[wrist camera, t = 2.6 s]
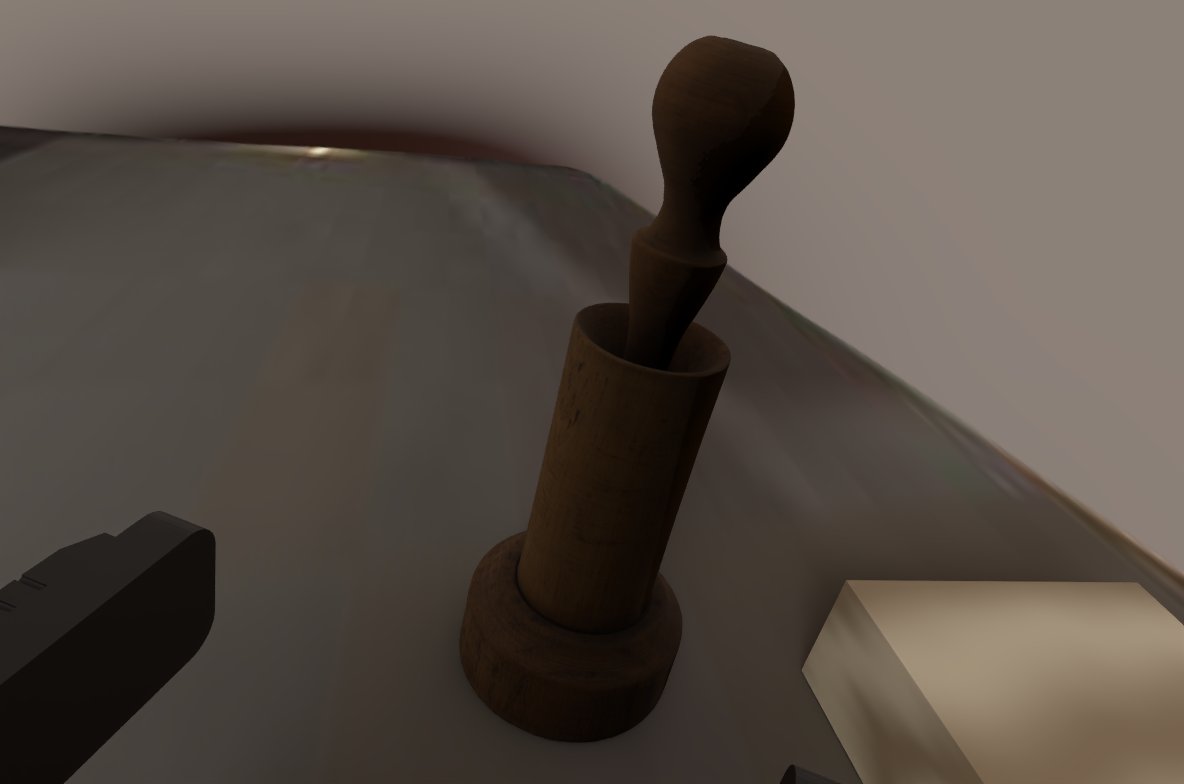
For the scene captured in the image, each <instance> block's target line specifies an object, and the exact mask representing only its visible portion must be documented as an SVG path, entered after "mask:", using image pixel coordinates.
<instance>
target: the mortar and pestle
mask: <svg viewBox="0 0 1184 784" xmlns="http://www.w3.org/2000/svg"><path fill="white" fill-rule="evenodd" d="M794 99H795V98H794V90H793V85H792V81H791V78H790V75H789V73H788V71H787V69H786V67H785V66H784V64H783V63H782V62H781V61H780V59H779V58H778V57H777V56H776V55H775V54H774V53H773V52H771V51H768V50H766V49H763V48H760V47H756V46H752V45H749V44H746V43H742V42H739V41H736V40H732V39H728V38H721V37H717V36H706V37H703V38H700V39H697V40H695V41H693V42H691V43H689V44H688V45H687V46H685V47H684V48H683V49H682V50H681V51H680V52H679V53H677V55H675V57H674V58H673V59H672V60H671V61H670V63H669V64H668V66H667V67H666V69H665V70H664V72H663V74H662V76H661V78H660V80H659V83H658V85H657V88H656V91H655V95H654V99H653V106H652V119H653V129H654V134H655V139H656V144H657V149H658V154H659V158H660V164H661V168H662V173H663V178H664V201H663V205H662V207H661V210H660V212H659V214H658V216H657V217H656V219H655V220H654V221H653V223H652V224H651V225H650V226H648V227H644V228H641V229H638V230H637V231H635V233H634V234H633V237H632V244H631V252H630V266H629V304H627V303H602V304H595V305H592V306H588V307H586V308H584V309H582V310H581V311H579V312H578V314H577V315H576V317H575V320H574V323H573V327H572V332H571V337H570V341H569V346H568V350H567V355H566V360H565V364H564V369H563V374H562V378H561V383H560V387H559V392H558V397H557V401H556V406H555V410H554V415H553V419H552V424H551V428H550V433H549V437H548V442H547V446H546V451H545V455H544V460H543V464H542V468H541V473H540V477H539V482H538V486H537V490H536V495H535V499H534V503H533V507H532V512H531V516H530V520H529V525H528V529H527V531H525V532H522V533H519V534H516V535H514V536H511V537H509V538H507V539H505V540H503V541H502V542H500V543H499V544H497V545H496V546H495V547H493V548H492V549H491V550H490V551H489V552H488V553H487V554H486V555H485V556H484V558H483V559H482V560H481V562H480V563H479V565H478V567H477V568H476V570H475V572H474V575H473V577H472V581H471V584H470V588H469V593H468V598H467V604H466V610H465V614H464V618H463V622H462V627H461V633H460V655H461V661H462V665H463V668H464V671H465V674H466V676H467V678H468V680H469V682H470V684H471V686H472V687H473V689H474V690H475V691H476V693H477V694H478V695H479V697H480V698H481V699H482V700H483V701H484V702H485V703H486V704H487V705H488V706H489V707H490V708H491V709H492V710H493V711H494V712H495V713H496V714H497V715H499V716H500V717H502V718H503V719H505V720H507V721H508V722H510V723H512V724H513V725H515V726H517V727H519V728H521V729H523V730H525V731H528V732H530V733H532V734H535V735H538V736H541V737H544V738H547V739H552V740H557V741H566V742H592V741H598V740H602V739H606V738H610V737H613V736H616V735H619V734H621V733H623V732H625V731H627V730H629V729H631V728H632V727H634V726H635V725H637V724H638V723H639V722H641V721H642V720H643V719H644V718H645V717H646V716H647V715H648V714H649V713H650V712H651V711H652V709H653V708H654V707H655V705H656V704H657V702H658V700H659V698H660V696H661V694H662V692H663V690H664V687H665V685H666V682H667V679H668V676H669V673H670V670H671V667H672V665H673V662H674V659H675V656H676V654H677V651H678V648H679V644H680V640H681V634H682V617H681V611H680V607H679V604H678V601H677V599H676V597H675V595H674V593H673V591H672V589H671V587H670V586H669V584H668V583H667V582H666V580H665V579H664V577H663V576H662V575H661V574H660V573H659V567H660V564H661V561H662V558H663V555H664V552H665V549H666V546H667V543H668V540H669V536H670V533H671V530H672V527H673V524H674V521H675V518H676V515H677V512H678V509H679V506H680V503H681V500H682V497H683V495H684V492H685V489H686V486H687V483H688V480H689V477H690V474H691V471H692V468H693V465H694V462H695V459H696V456H697V453H698V450H699V448H700V445H701V442H702V439H703V436H704V433H705V431H706V428H707V425H708V422H709V419H710V417H711V414H712V411H713V408H714V406H715V403H716V400H717V397H718V394H719V392H720V389H721V386H722V384H723V381H724V378H725V375H726V372H727V369H728V366H729V363H730V359H731V356H730V351H729V349H728V347H727V346H726V344H725V343H724V342H723V341H722V340H721V339H720V338H719V337H718V336H716V335H715V334H714V333H712V332H711V331H710V330H708V329H706V328H705V327H703V326H701V325H699V324H697V323H695V322H693V319H694V318H695V316H696V315H697V313H698V312H699V310H700V309H701V307H702V306H703V304H704V303H705V301H706V300H707V298H708V296H709V295H710V293H711V292H712V290H713V288H714V287H715V285H716V283H717V281H718V279H719V278H720V276H721V274H722V272H723V270H724V268H725V265H726V263H727V256H726V254H725V252H724V251H723V250H722V249H721V248H720V243H719V233H720V226H721V221H722V217H723V214H724V212H725V210H726V208H727V206H728V205H729V203H730V202H731V201H732V199H733V198H734V197H736V196H737V194H739V193H740V192H741V191H742V190H743V189H744V188H745V187H746V186H747V185H748V184H750V182H752V180H753V179H755V177H756V176H757V175H758V174H759V173H760V172H761V171H762V170H763V169H764V168H765V167H766V166H767V165H768V164H769V163H770V162H771V161H772V160H773V159H774V158H775V157H776V155H777V154H778V153H779V151H780V150H781V149H782V147H783V145H784V144H785V142H786V140H787V138H788V135H789V133H790V129H791V126H792V122H793V118H794V109H795V100H794Z"/></svg>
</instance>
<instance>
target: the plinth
mask: <svg viewBox="0 0 1184 784" xmlns="http://www.w3.org/2000/svg"><path fill="white" fill-rule="evenodd" d="M801 671H802V672H803V674H804V676H805V678H806V680H807V682H808V683H809V685H810V687H811V689H812V691H813V693H814V694H815V696H816V698H817V700H818V702H819V704H820V705H821V707H822V709H823V711H824V713H825V715H826V716H827V718H828V720H829V722H830V724H831V726H832V727H833V729H834V731H835V733H836V735H837V737H838V738H839V740H840V742H841V744H842V746H843V748H844V749H845V751H846V753H847V755H848V757H849V759H850V760H851V762H852V764H853V766H854V768H855V770H856V771H857V773H858V775H859V777H860V779H861V781H862V782H863V784H1184V625H1183V624H1181V623H1180V622H1179V621H1178V620H1177V619H1176V618H1175V617H1174V616H1173V615H1172V614H1171V613H1170V612H1168V611H1167V610H1166V609H1165V608H1164V607H1163V606H1162V605H1161V604H1160V603H1159V602H1158V601H1157V600H1155V599H1154V598H1153V597H1152V596H1151V595H1150V594H1149V593H1148V592H1147V591H1146V590H1145V589H1144V588H1142V587H1141V586H1140V585H1139V584H1138V583H1122V582H1001V581H880V580H846V582H845V584H844V586H843V588H842V590H841V592H840V594H839V596H838V598H837V600H836V602H835V604H834V606H833V608H832V610H831V612H830V614H829V616H828V618H827V620H826V622H825V624H824V626H823V628H822V630H821V632H820V634H819V636H818V638H817V640H816V642H815V644H814V646H813V648H812V650H811V652H810V654H809V656H808V658H807V660H806V662H805V664H804V666H803V668H802V670H801Z"/></svg>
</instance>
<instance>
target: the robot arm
mask: <svg viewBox="0 0 1184 784" xmlns="http://www.w3.org/2000/svg"><path fill="white" fill-rule="evenodd" d="M215 548H216V544H215V537H214V535H213V533H212V532H211V531H210V530H207V529H205V528H202V527H200V526H197V525H195V524H192V523H190V522H187V521H185V520H182V519H180V518H177V517H175V516H172V515H170V514H167V513H165V512H162V511H157V512H152V513H150V514H148V515H146V516H145V517H143V518H142V519H140V520H139V521H137V522H136V523H134V524H133V525H132V526H130V527H129V528H127V529H126V530H125V531H123V532H122V533H120V534H119V535H118V536H116V537H114V536H112V535H109V534H107V533H103V534H100V535H98V536H95V537H92V538H89V539H87V540H84V541H81V542H78V543H76V544H73V545H70V546H67V547H65V548H62V549H59V550H58V551H56V552H55V553H53V554H52V555H51V556H49V557H48V558H46V559H45V560H43V561H42V562H40V563H39V564H37V565H36V566H34V567H33V568H31V569H30V570H28V571H27V572H25V573H24V574H22V577H21V579H20V580H19V581H16V580H14V581H12V582H11V583H9V584H8V585H6V586H5V587H3V588H2V589H0V784H64V783H65V782H66V781H67V780H68V779H69V778H70V777H71V776H72V775H73V774H74V773H75V772H76V771H77V770H78V769H79V768H80V767H81V766H82V765H83V764H84V763H85V762H86V761H87V760H88V759H89V758H90V757H91V756H92V755H93V754H94V753H95V752H96V751H97V750H98V749H99V748H100V747H101V746H103V745H104V744H105V743H106V742H107V741H108V740H109V739H110V738H111V737H112V736H113V735H114V734H115V733H116V732H117V731H118V730H119V729H120V728H121V727H122V726H123V725H124V724H125V723H126V722H127V721H128V720H129V719H130V718H131V717H132V716H133V715H134V714H135V713H136V712H137V711H138V710H139V709H140V708H141V707H142V706H143V705H144V704H146V703H147V702H148V701H149V700H150V699H151V698H152V697H153V696H154V695H155V694H156V693H157V692H158V691H159V690H160V689H161V688H162V687H163V686H164V685H165V684H166V683H167V682H168V681H169V680H170V679H171V678H172V677H173V676H174V675H175V674H176V673H177V672H178V671H179V670H180V669H181V668H182V667H183V666H184V665H185V664H186V663H188V662H189V661H190V660H191V658H192V657H193V656H194V655H195V654H196V653H197V652H198V650H199V649H200V647H201V646H202V644H203V643H204V641H205V639H206V638H207V635H208V633H209V631H210V629H211V626H212V623H213V620H214V614H215ZM780 784H840V783H838V782H835V781H833V780H830V779H828V778H825V777H823V776H820V775H818V774H815V773H813V772H810V771H808V770H805V769H803V768H800V767H798V766H795V765H790V766H789V768H788V769H787V770H786V772H785V774H784V776H783V778H782V780H781V782H780Z"/></svg>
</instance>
